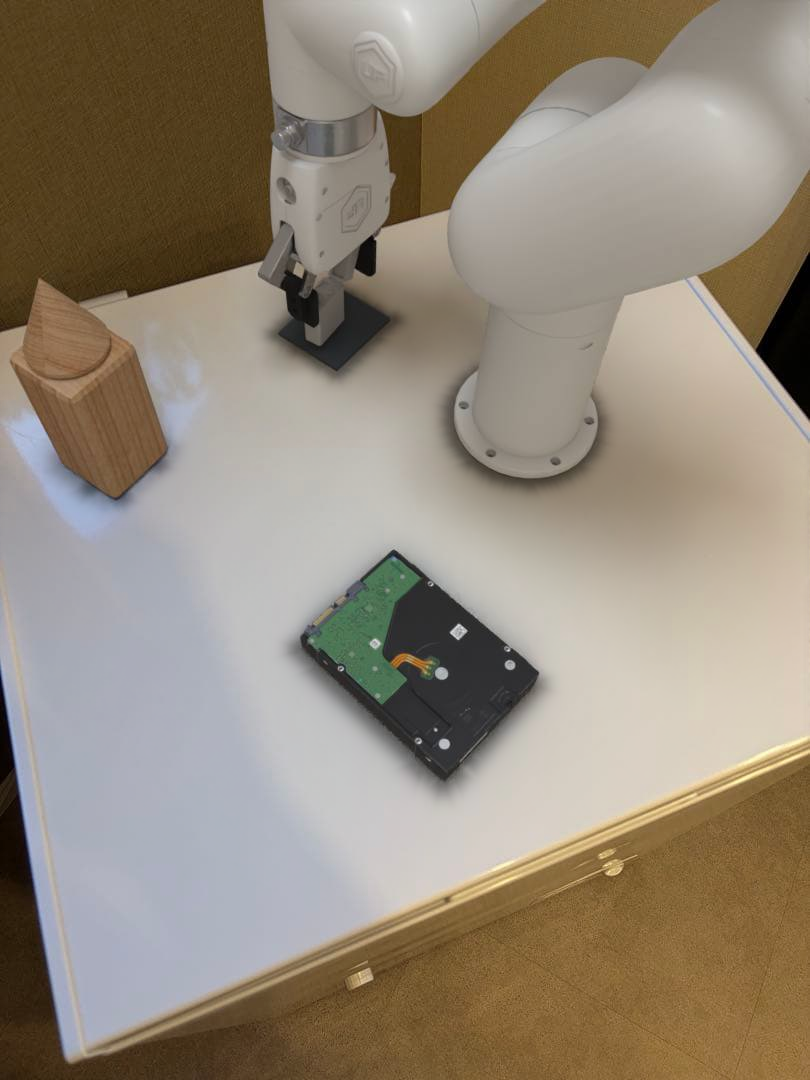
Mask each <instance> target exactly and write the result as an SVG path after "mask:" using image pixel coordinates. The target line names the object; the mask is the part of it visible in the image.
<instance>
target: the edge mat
mask: <svg viewBox="0 0 810 1080" xmlns="http://www.w3.org/2000/svg"><path fill="white" fill-rule="evenodd" d="M389 322H391V317H390V316H388V315H387V314H385V313H383V312H381V311H379V310H378V309H376V308H375V307H373V306H372V305H370V304H368V303H366V302H365V301H363V300H361V299H360V298H358V297H357V296H354V295H353V294H351V293H349V292H348V291H346V290H344V320H343V322H342V323H341V324H340V325H339V326H338V327H337V328H336V330H335V331H334V332H333V333H332V334H331V335H330V336H329V338H328V339H327V340H326V341H325V342H324V343H323V344H322V345H321V346H318V345H316V344H314V343H312V342H310V341H308V340H306V335H305V323H304V322H302V321H298V320H297V319H295V318H293V319H291V320H290V321H289V322H288V323H286V324H285V326H283V327H282V328H281V329H280V330H279V331H278V333H277V334H278V336H280V337H281V338H283V339H285V340H286V341H288V342H289V343H291V344H292V345H294V346H296V347H297V348H299V349H301V350H302V351H303V352H305V353H307V354H309V355H310V356H312V357H313V358H315V359H317V361H319V362H321V363H323V364H325V365H326V366H327V367H329V368H331V369H333V371H336V372H338V371H339V370H340V369H341V368H342V367H343V366H344V365H345V364H346V363H347V362H349V360H350V359H352V358H353V357H354V356H355V355H356V354H357V352H359V351H360V350H361V349H362V348H364V346H366V345H367V344H368V342H370V341H371V339H373V338H374V337H375V336H376V335H377V334H378V333H379V332H380V331H382V329H384V327H385V326H386V325H387V324H389Z"/></svg>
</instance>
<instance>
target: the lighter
mask: <svg viewBox="0 0 810 1080" xmlns="http://www.w3.org/2000/svg"><path fill="white" fill-rule="evenodd" d="M359 248H360V245H359V246H358V247H357V248H356V249H355V250H354V251H352V252H351V253H350V254H349V255H348V256H347V257H345V258H344V259H343V260H342V261H341V262H339V263H338V264H337V265H336V266H334V267H333V268H332V269H330V270H329V271H328V276H327V277H324V276H323V277H322V278H321V279H320V280H319V281H318V283H317V284H316V285H315V286H313V289H314V290H316V291H317V293H318V306H319V324H318V325H317V326H316V327H315V328H312V327H311V326H309V325H307V324H306V323H305V335H306V340H308V341H310V342H312V343H314V344H316V345H318V346H321V345H322V344H323V343H324V342H325V341H326V340H327V339H328V338H329V336H330V335H331V334H332V333H333V332H334V331H335V330H336V328H337V327H338V326H339V325H340V324H341V323H342V322H343V320H344V291H345V290H344V289H345V287H344V283H347V282H349V281H351V280H353V277H354V274H355V270H356V269H355V265H356V261H357V257H358V253H359Z"/></svg>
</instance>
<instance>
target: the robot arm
mask: <svg viewBox="0 0 810 1080" xmlns="http://www.w3.org/2000/svg"><path fill="white" fill-rule="evenodd" d="M547 1H548V0H262V8H263V17H264V28H265V29H264V30H265V40H266V50H267V51H266V52H267V60H268V70H269V72H268V73H269V80H270V81H269V83H270V89H271V91H270V93H271V102H272V103H271V104H272V115H273V123H274V131H273V132H271V133H270V141H271V143H272V148H271V149H272V151H271V159H270V175H269V176H270V177H269V204H270V221H271V233H272V238H273V239H272V240H273V242H272V244H271V246H270V248H269V250H268V251H267V254H266V255H265V257H264V259H263V260H262V263H261V265H260V267H259V269H258V272H257V276H258V278H259V279H261V280H263V281H264V282H266V283H268V284H269V285H271V286H273V287H275V288H277V289H279V290H281V291H283V292H285V300H286V310H287V312H288V313H289V315H290V316H291V317H292V318H293V319H294V318H295V319H297V320H298V321H302V322H304V323H306V324H307V325H309V326H311V327H312V328H315V327H316V326H317V325H318V324H319V306H318V293H317V291H316V290H314V289H313V288H314V285H315V282H316V279H317V276H320V275H323V274H325V273H327V272H329V270H330V269H332V268H333V267H334V266H336V265H337V264H338V263H339V262H341V261H342V260H343V259H344V258H345V257H347V256H348V255H349V254H350V253H351V252H352V251H354V250H355V249H356V248H357V247H358V246H359V245H360V248H359V253H358V257H357V261H356V265H355V269H354V270H356V271H357V272H359V273H361V274H363V275H365V276H366V277H368V278H369V277H370V278H372V277H374V276H375V274H376V273H377V244H378V243H377V240H376V238H378V237H379V235H380V234H381V232H382V225H384V223H385V222H386V220H387V219H388V216H389V214H390V206H391V204H390V203H391V190H392V188H393V186H394V183H395V182H396V177H397V175H396V174H395V173H394V172H392V171H391V170H390V157H389V155H390V154H389V147H388V140H387V139H388V138H387V134H386V128H385V124H384V120H383V117H382V114H381V112H380V110H382V111H384V112H385V113H387V114H391V115H394V116H396V117H403V118H404V117H405V118H408V117H415V116H418V115H421V114H423V113H425V112H427V111H429V110H430V109H432V108H433V107H434V106H435V105H437V104H438V103H439V102H440V101H441V100H442V99H443V98H444V97H445V96H446V95H448V93H449V92H450V91H451V90H452V89H453V88H454V87H455V86H456V85H457V84H458V83H459V82H460V81H461V80H462V78H464V77H465V75H466V74H467V73H469V71H470V70H471V68H472V67H473V66H474V65H475V64H477V62H478V61H480V60H481V58H482V57H484V55H486V54H487V53H488V52H489V51H490V50H491V49H492V48H493V47H494V46H495V45H496V44H497V43H498V42H499V41H500V40H501V39H502V38H503V37H504V36H506V34H508V33H509V32H510V31H511V30H512V29H513V28H514V27H515V26H516V25H518V24H519V23H520V22H521V21H522V20H524V19H525V18H526V17H527V16H529V15H530V14H532V13H533V12H534V11H535V10H537V9H539V7H540V6H542V5H543V4H544V3H546V2H547ZM809 171H810V0H718V1H716V2H714V3H713V4H712V5H709V6H708V7H707V8H706V9H704V10H703V11H702V12H700V13H699V14H697V15H696V16H695V17H693V18H692V19H691V20H690V21H689V22H688V23H687V24H686V25H685V26H684V27H683V28H682V29H681V30H680V31H679V32H678V34H677V35H676V36H675V37H674V38H673V39H672V40H671V41H670V43H669V44H668V45H667V46H666V48H665V49H664V50H663V51H662V53H661V54H660V55H659V56H658V58H657V59H656V60H655V61H654V62H653V64H652V65H651V66H650V67H649V68H648V67H646V66H644V65H643V64H641V63H640V62H637V61H634V60H631V59H628V58H624V57H617V56H605V57H603V56H602V57H598V58H593V59H590V60H587V61H583V62H581V63H579V64H576V65H574V66H572V67H571V68H570V69H567V70H565V71H564V72H563V73H561V74H560V75H559V76H558V77H556V78H555V79H553V81H552V82H550V83H549V84H548V85H547V86H546V87H545V88H544V89H542V91H541V92H540V93H539V94H538V95H537V96H535V98H534V99H533V100H532V102H531V103H529V104H528V106H527V107H526V108H525V109H524V110H523V112H521V114H520V115H518V117H517V118H516V119H515V120H514V121H513V123H511V125H510V126H509V128H508V129H507V130H506V132H505V133H504V134H503V135H502V137H501V138H499V140H497V142H496V143H495V144H494V145H493V146H492V148H491V149H490V150H489V151H488V152H487V153H486V154H485V155H484V156H483V158H482V159H481V160H480V161H479V162H478V163H477V164H476V165H475V167H474V168H473V170H471V172H470V173H469V174H468V175H467V177H466V178H465V179H464V180H463V182H462V183H461V185H460V186H459V188H458V190H457V192H456V194H455V196H454V198H453V201H452V204H451V206H450V210H449V214H448V219H447V225H446V226H447V229H446V237H447V248H448V252H449V256H450V257H449V258H450V259H451V262H452V265H453V267H454V269H455V271H456V273H457V275H458V276H459V278H460V279H461V281H462V282H463V283H464V284H465V286H466V287H467V288H468V289H469V290H470V291H471V292H472V293H473V294H475V296H477V297H478V298H480V299H481V300H483V301H484V302H486V303H487V304H488V308H487V314H486V320H485V325H484V326H485V327H484V332H483V338H482V344H481V350H480V357H479V363H478V369H477V370H475V371H474V372H473V373H472V374H471V375H469V376H468V377H467V378H466V380H465V381H464V382H463V383H462V385H461V386H460V388H459V390H458V392H457V394H456V397H455V401H454V402H455V403H454V408H453V423H454V428H455V432H456V434H457V437H458V439H459V441H460V442H461V444H462V445H463V446H464V448H465V450H466V451H467V452H468V453H469V454H470V455H471V456H472V457H473V458H474V459H475V460H476V461H478V462H479V463H481V464H483V465H484V466H485V467H486V468H489V469H491V470H493V471H495V472H497V473H499V474H502V475H507V476H510V477H513V478H521V479H543V478H549V477H553V476H557V475H559V474H561V473H564V472H567V471H568V470H570V469H572V468H573V467H575V466H576V465H578V464H579V463H580V462H581V461H582V460H583V459H584V458H585V457H586V456H587V454H588V453H589V452H590V450H591V448H592V447H593V443H594V442H595V439H596V437H597V431H598V426H599V417H598V415H599V414H598V410H597V407H596V403H595V401H594V400H593V398H592V396H591V395H592V391H593V388H594V385H595V382H596V379H597V377H598V374H599V370H600V368H601V365H602V362H603V359H604V356H605V352H606V351H607V348H608V344H609V341H610V339H611V335H612V332H613V330H614V326H615V323H616V320H617V318H618V315H619V312H620V310H621V307H622V305H623V301H624V299H625V297H626V296H630V295H635V294H638V293H641V292H645V291H648V290H653V289H655V288H659V287H663V286H666V285H670V284H673V283H677V282H680V281H685V280H687V279H690V278H693V277H697V276H699V275H702V274H705V273H708V272H710V271H712V270H714V269H716V268H718V267H720V266H722V265H724V264H726V263H727V262H729V261H731V260H733V259H735V258H736V257H737V256H739V255H740V254H742V253H744V252H745V251H746V250H748V249H749V248H750V247H752V246H753V245H754V244H755V243H757V242H758V241H759V240H760V239H761V238H762V237H763V236H764V235H766V233H767V232H768V231H769V230H770V229H771V228H772V227H773V226H774V224H775V223H776V222H777V221H778V219H779V218H780V217H781V215H782V214H783V213H784V211H785V209H787V207H788V205H789V203H790V202H791V201H792V198H793V197H794V195H795V194H796V192H797V191H798V189H799V187H800V185H801V184H802V182H803V180H804V179H805V177H806V175H807V174H808V172H809ZM297 263H298V264H299V265H301V266H302V267H303V268H304V270H303V273H302V277H301V276H299V275H298V274H295V273H294V272H295V268H296V265H297Z"/></svg>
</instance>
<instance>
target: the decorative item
mask: <svg viewBox="0 0 810 1080" xmlns="http://www.w3.org/2000/svg"><path fill="white" fill-rule="evenodd" d="M9 365H10V366H11V368H12V370H13V372H14V374H15V376H16V377H17V380H18V381H19V383H20V385H21V387H22V389H23V391H24V392H25V395H26V397H27V399H28V401H29V402H30V404H31V406H32V409H33V410H34V412H35V414H36V416H37V418H38V420H39V422H40V423H41V425H42V426H41V427H42V428H43V429H44V431H45V434H46V436H47V437H48V439H49V442H50V443H51V445H52V447H53V449H54V451H55V453H56V455H57V457H58V458H59V461H60V462H61V464H62V465H64V466H65V467H67V468H68V469H69V470H71V471H72V472H74V473H75V474H77V475H78V476H80V477H81V478H83V479H84V480H85V481H87V482H89V483H90V484H91V485H93V486H94V487H95V488H97V489H98V490H100V491H102V492H103V493H105V494H106V495H107V496H109V497H111V498H118V497H120V496H122V495H123V494H124V493H125V492H126V491H127V490H128V489H129V488H130V487H131V486H132V485H133V484H134V483H135V482H136V481H138V480H139V479H140V478H141V477H142V476H143V475H144V474H145V473H146V472H147V471H148V470H149V469H150V468H151V467H152V466H154V464H155V463H156V462H158V461H159V460H160V458H162V457H163V456H164V455H165V454H166V452H167V450H168V444H167V441H166V438H165V435H164V431H163V429H162V426H161V422H160V419H159V417H158V413H157V411H156V407H155V405H154V401H153V398H152V396H151V393H150V389H149V387H148V383H147V381H146V380H147V379H146V377H145V374H144V371H143V369H142V366H141V362H140V359H139V356H138V353H137V350H136V348H135V346H134V345H133V344H132V343H131V342H130V341H128V340H126V338H123V337H121V336H120V335H119V334H117V333H115V332H114V331H112V330H110V329H109V328H108V327H107V325H106V323H105V322H103V321H102V319H100V317H98V316H97V315H95V314H93V313H92V312H90V311H89V310H87V309H86V308H84V307H83V306H81V305H80V304H79V303H77V302H76V301H74V300H73V299H71V298H70V297H68V296H67V295H66V294H64V293H62V292H61V291H60V290H58V289H56V288H55V287H53V286H52V285H50V283H48V282H46V281H45V280H43V279H42V278H40V277H39V278H38V281H37V284H36V288H35V292H34V296H33V301H32V305H31V308H30V312H29V317H28V321H27V324H26V329H25V333H24V337H23V341H22V345H21V346H20V347H19V348H18V349H16V350H15V351H14V352H13V353H12V354H11V356H10V357H9Z"/></svg>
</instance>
